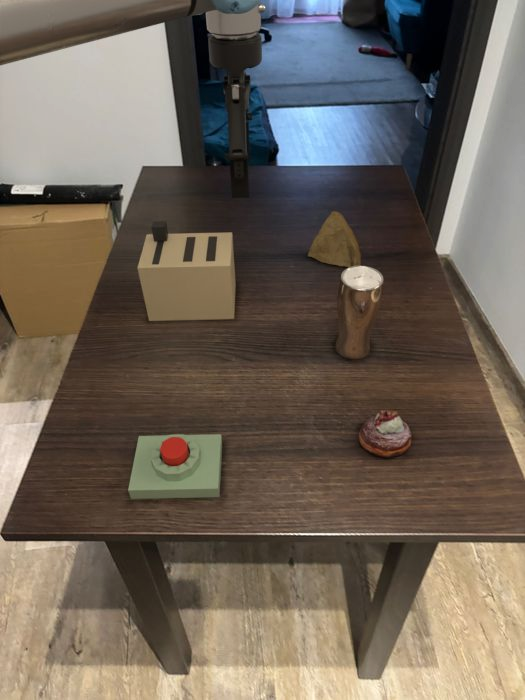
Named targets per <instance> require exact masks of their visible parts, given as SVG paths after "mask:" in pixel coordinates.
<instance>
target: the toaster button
mask: <svg viewBox="0 0 525 700" xmlns="http://www.w3.org/2000/svg"><path fill="white" fill-rule="evenodd" d="M167 225H168V224H167V221H165V220H163V221H162V220H161V221H159V220H158V221H157V220H156V221H155V220H154V221H152V223H151V227H150V228H151V232H152V233H151V234H153V238H154V241H167V239H168V234H169V231H168V226H167Z"/></svg>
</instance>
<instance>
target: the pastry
mask: <svg viewBox="0 0 525 700" xmlns="http://www.w3.org/2000/svg"><path fill="white" fill-rule="evenodd" d="M412 436H413V435H412V432H411V429H410V426H409V425H408V423H406V422H405V421H404V420H402V418H401V416H400V415H399V413H398V412H397V411H396V410H394V411H393V410H392V411H390V410H387V409H386V410H384V409H380V411H379V412H377V414H376V415H372V416H370V417H369V418H367V419H366V420H365V421H363V423H362V425H361V427H360V429H359V431H358V442H359V444H360V446H361V447H362V448H363V450H365V452H368V453H369V454H371V455H374V456H376V457H379V458H384V459H388V458H394V457H399V456H401V455H403V454H404V453H406V452H407V451H408V450H409V449H410V447H411V443H412V438H413V437H412Z"/></svg>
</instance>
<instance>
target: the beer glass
mask: <svg viewBox="0 0 525 700" xmlns="http://www.w3.org/2000/svg"><path fill="white" fill-rule="evenodd" d="M383 285H384V276H383V274H382V273H381V272H380V271H379V270H378V269H376V268H374V267H372V266H367V265H360V266H353V267H349V268H348V267H346V268H345V269H344V270H343V271H342V273H341V275H340V281H339V286H338V290H337V298H336V299H337V301H336V308H337V309H336V310H337V320H338V335H337V337H336V339H335V344H334V348H335V351H336V352H337V354H338V355H339V356H341V357H342V358H345V359H349V360H360V359H363V358H366V357H367V356H368V355H369V354H370V351H371V340H370V339H371V338H370V337H371V333H372V329H373V327H374V324H375V322H376V320H377V317H378V315H379V312H380V309H381V304H382V297H383Z"/></svg>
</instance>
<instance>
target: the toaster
mask: <svg viewBox="0 0 525 700" xmlns="http://www.w3.org/2000/svg"><path fill="white" fill-rule="evenodd" d="M137 273H138V278H139V281H140V286H141V291H142V295H143V300H144V305H145V308H146V309H145V310H146V315H147V318H148V321H149V322H166V321H207V320H209V321H211V320H212V321H213V320H214V321H215V320H235V310H236V309H235V308H236V269H235V255H234V238H233V232H232V231H231V232H227V231H226V232H189V233H186V232H185V233H184V232H183V233H168V239H167V241H154V238H153V233H147V234H146V236H145V240H144V243H143V247H142V251H141V253H140V258H139V261H138V264H137Z"/></svg>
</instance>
